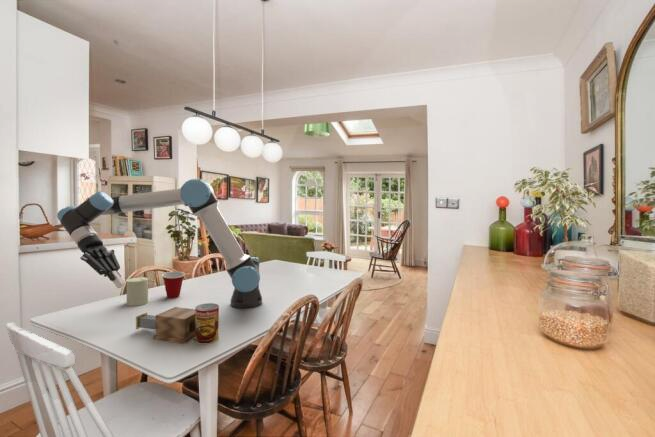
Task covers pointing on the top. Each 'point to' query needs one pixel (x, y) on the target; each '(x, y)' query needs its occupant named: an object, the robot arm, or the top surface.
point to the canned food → (206, 323)
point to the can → (137, 291)
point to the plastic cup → (173, 283)
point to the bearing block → (175, 325)
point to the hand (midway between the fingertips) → (121, 285)
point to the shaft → (147, 321)
